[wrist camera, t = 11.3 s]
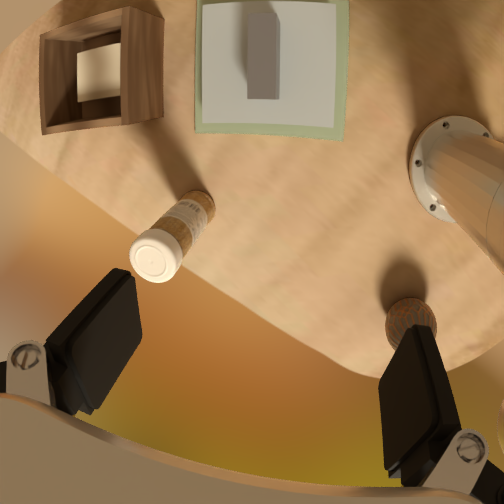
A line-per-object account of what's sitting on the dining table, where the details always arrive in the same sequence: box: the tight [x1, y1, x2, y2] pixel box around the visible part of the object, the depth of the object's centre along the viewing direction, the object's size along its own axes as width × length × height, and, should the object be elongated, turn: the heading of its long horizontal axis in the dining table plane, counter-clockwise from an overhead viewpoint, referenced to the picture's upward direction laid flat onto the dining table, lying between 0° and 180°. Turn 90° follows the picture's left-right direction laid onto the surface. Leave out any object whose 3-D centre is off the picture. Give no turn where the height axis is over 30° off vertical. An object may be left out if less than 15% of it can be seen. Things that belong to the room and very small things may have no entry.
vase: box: [385, 298, 437, 351], centre depth 36 cm, size 7×7×9 cm
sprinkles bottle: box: [129, 190, 215, 283], centre depth 32 cm, size 5×5×13 cm
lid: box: [202, 1, 336, 128], centre depth 26 cm, size 13×13×6 cm
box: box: [39, 6, 164, 135], centre depth 28 cm, size 12×12×8 cm
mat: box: [195, 0, 349, 142], centre depth 29 cm, size 16×16×1 cm
